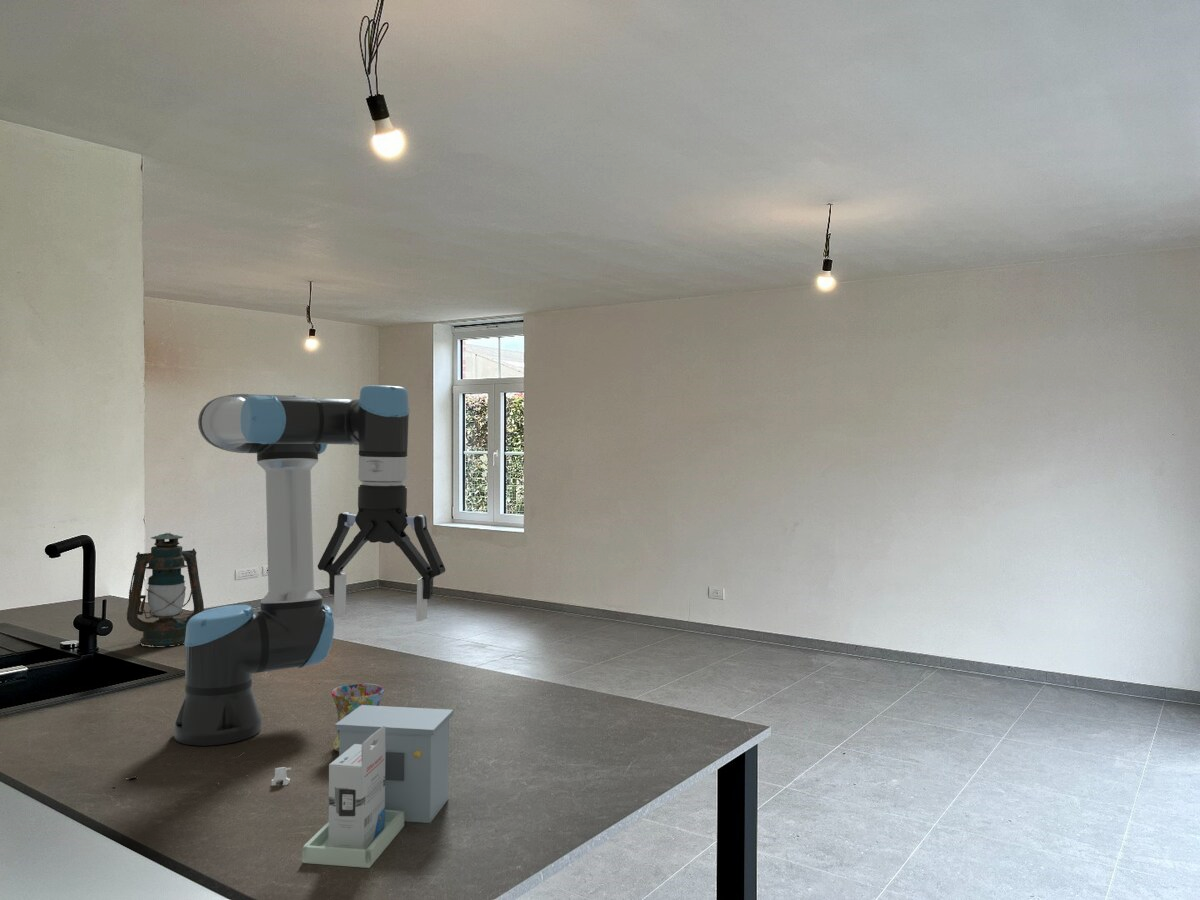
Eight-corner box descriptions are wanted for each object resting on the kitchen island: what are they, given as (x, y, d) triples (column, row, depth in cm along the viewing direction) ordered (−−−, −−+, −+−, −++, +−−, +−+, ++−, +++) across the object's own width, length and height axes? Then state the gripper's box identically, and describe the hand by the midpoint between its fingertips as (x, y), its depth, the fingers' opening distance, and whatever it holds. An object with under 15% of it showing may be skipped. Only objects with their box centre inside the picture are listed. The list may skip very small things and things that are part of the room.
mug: (393, 749, 163) (394, 690, 162) (345, 761, 156) (346, 700, 156) (361, 733, 171) (361, 677, 171) (314, 744, 165) (315, 686, 165)
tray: (302, 862, 119) (302, 846, 119) (343, 821, 132) (343, 806, 132) (369, 867, 117) (369, 851, 117) (404, 825, 130) (404, 811, 130)
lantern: (132, 651, 234) (133, 536, 234) (119, 642, 245) (120, 532, 245) (210, 641, 247) (211, 532, 247) (194, 633, 258) (195, 528, 258)
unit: (333, 817, 133) (334, 724, 133) (360, 792, 143) (361, 704, 143) (432, 824, 131) (433, 729, 131) (452, 797, 141) (453, 709, 141)
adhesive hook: (271, 789, 144) (271, 770, 144) (270, 784, 147) (271, 764, 147) (291, 787, 146) (291, 767, 146) (290, 781, 148) (290, 762, 148)
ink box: (353, 824, 129) (354, 721, 129) (386, 827, 128) (387, 723, 128) (326, 851, 121) (327, 741, 121) (361, 854, 120) (362, 743, 120)
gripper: (297, 482, 141) (295, 617, 141) (451, 487, 137) (449, 626, 138) (319, 479, 148) (317, 608, 149) (466, 484, 144) (463, 616, 145)
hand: (380, 617), depth 143 cm, fingers open, 13 cm apart
